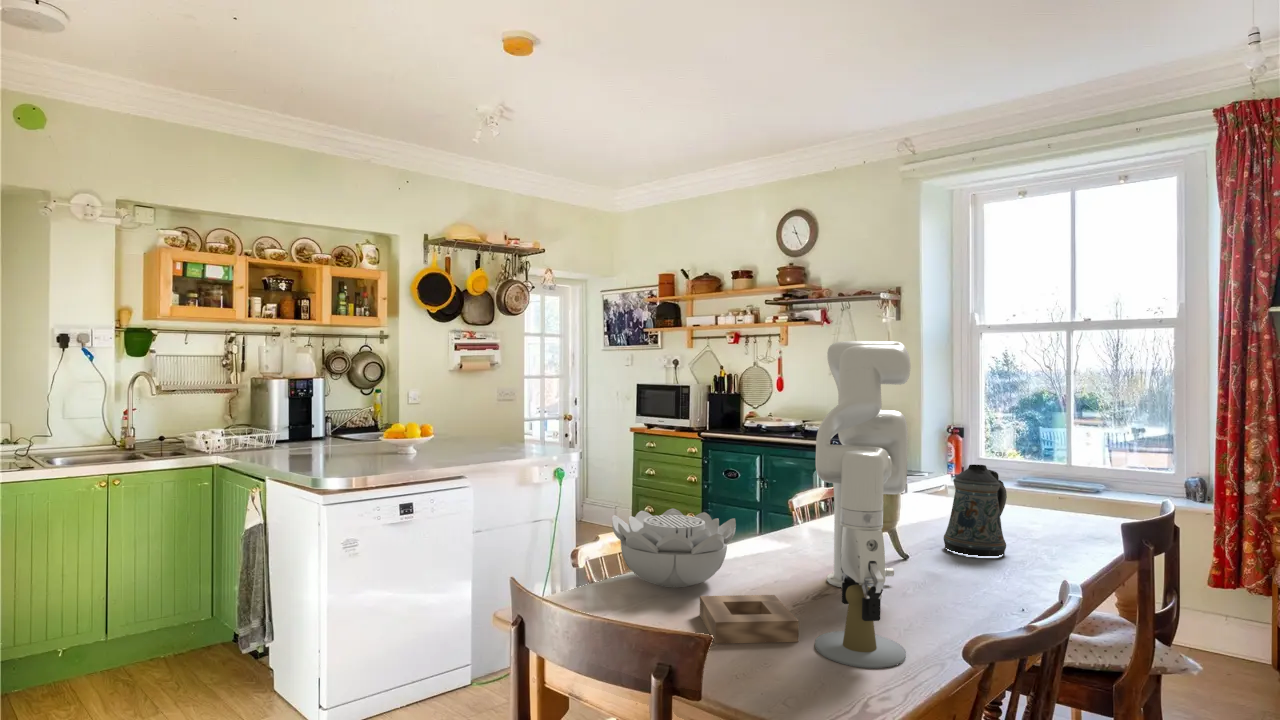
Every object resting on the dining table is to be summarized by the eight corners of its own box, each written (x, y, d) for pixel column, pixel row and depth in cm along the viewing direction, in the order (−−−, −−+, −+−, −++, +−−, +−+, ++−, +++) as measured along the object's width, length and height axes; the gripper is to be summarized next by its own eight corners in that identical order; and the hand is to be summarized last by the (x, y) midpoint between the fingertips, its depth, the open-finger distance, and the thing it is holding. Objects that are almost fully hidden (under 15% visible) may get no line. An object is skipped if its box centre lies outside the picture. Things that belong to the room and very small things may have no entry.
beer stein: (937, 553, 211) (938, 465, 212) (952, 540, 227) (953, 459, 228) (1001, 562, 202) (1002, 471, 202) (1012, 549, 218) (1013, 464, 218)
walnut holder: (774, 613, 156) (774, 594, 156) (798, 641, 140) (798, 620, 140) (699, 615, 154) (699, 596, 154) (715, 643, 138) (715, 622, 138)
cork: (878, 653, 133) (879, 592, 133) (843, 650, 134) (844, 589, 134) (874, 641, 139) (875, 582, 139) (841, 638, 140) (842, 580, 140)
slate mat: (882, 634, 145) (882, 630, 145) (922, 667, 129) (922, 662, 129) (803, 635, 143) (803, 631, 143) (833, 669, 127) (833, 664, 127)
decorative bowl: (760, 596, 168) (761, 530, 168) (635, 606, 159) (636, 536, 160) (710, 562, 197) (711, 506, 197) (602, 569, 188) (603, 510, 189)
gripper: (902, 528, 128) (901, 627, 128) (862, 509, 146) (860, 596, 145) (861, 528, 127) (859, 628, 127) (825, 509, 145) (824, 597, 145)
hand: (860, 611), depth 136 cm, fingers open, 9 cm apart
